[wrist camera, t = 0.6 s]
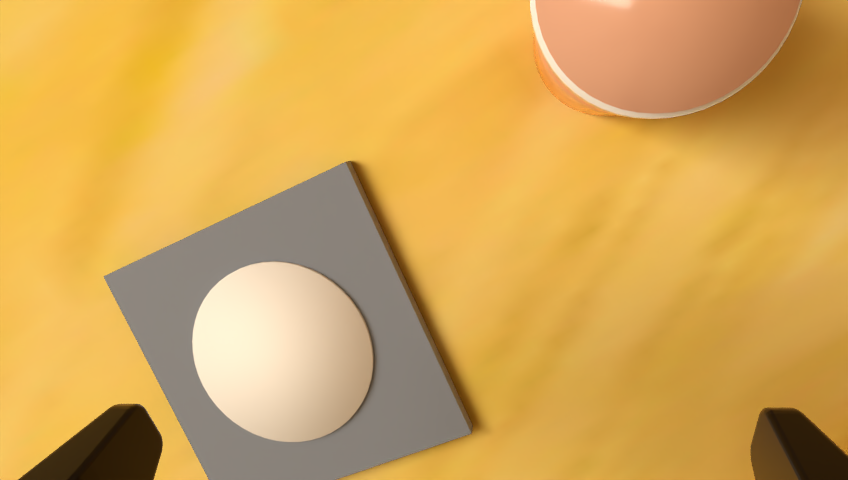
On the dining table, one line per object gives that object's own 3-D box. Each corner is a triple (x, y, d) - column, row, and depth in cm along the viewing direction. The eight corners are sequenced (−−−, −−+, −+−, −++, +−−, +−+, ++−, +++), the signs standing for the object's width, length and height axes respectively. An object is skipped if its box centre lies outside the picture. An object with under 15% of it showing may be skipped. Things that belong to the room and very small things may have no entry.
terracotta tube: (702, 96, 20) (831, 78, 11) (548, 135, 21) (561, 147, 12) (672, -62, 19) (787, -209, 11) (515, -14, 20) (503, -112, 12)
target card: (472, 425, 24) (470, 436, 23) (234, 507, 26) (225, 519, 25) (350, 161, 22) (344, 162, 22) (113, 272, 25) (100, 277, 24)
